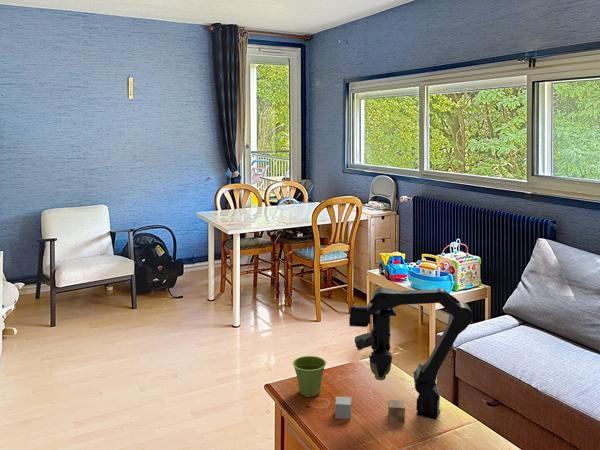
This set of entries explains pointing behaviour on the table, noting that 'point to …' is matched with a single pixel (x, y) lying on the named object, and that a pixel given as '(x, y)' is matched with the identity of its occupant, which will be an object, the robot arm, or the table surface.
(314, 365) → the plant pot
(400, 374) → the table surface
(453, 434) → the table surface
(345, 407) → the slate grey block
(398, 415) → the walnut block
